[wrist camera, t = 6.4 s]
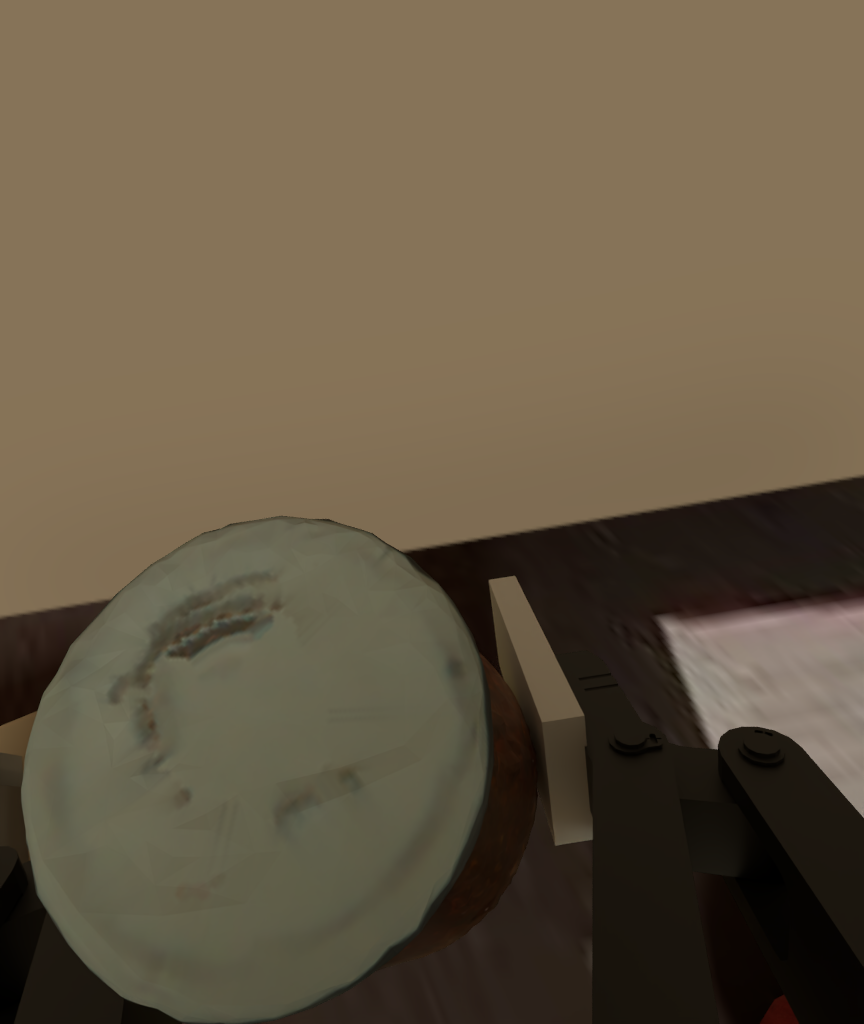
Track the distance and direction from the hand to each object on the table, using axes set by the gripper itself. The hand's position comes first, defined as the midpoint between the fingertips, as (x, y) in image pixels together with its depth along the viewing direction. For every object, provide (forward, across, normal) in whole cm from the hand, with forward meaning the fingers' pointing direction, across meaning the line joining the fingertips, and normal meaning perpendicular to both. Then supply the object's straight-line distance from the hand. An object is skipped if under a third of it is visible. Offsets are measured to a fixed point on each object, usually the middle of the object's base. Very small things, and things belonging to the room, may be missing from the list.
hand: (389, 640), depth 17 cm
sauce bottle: (+3, 0, -9) cm, 9 cm away
